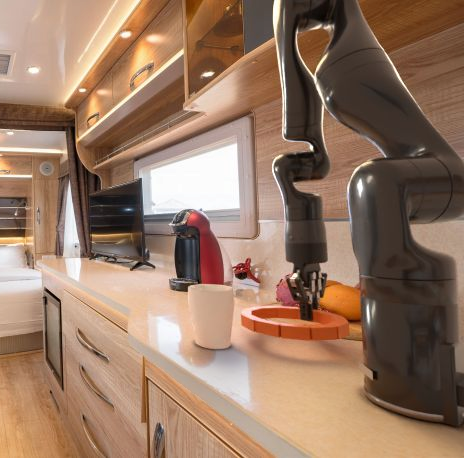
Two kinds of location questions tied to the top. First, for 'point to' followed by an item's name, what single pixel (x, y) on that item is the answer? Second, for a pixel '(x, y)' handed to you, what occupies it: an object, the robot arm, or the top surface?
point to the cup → (211, 314)
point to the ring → (325, 330)
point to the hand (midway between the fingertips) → (309, 319)
